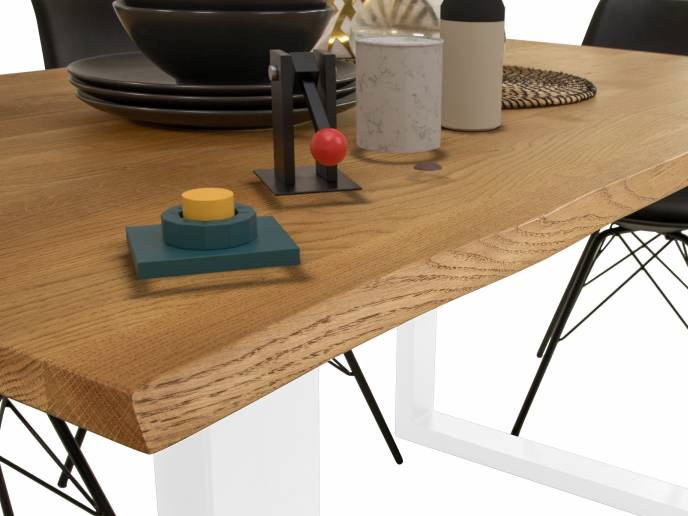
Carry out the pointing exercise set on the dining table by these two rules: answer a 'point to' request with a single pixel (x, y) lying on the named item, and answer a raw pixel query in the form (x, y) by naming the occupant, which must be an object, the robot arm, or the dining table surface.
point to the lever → (317, 111)
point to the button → (208, 204)
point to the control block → (209, 244)
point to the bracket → (284, 172)
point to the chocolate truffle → (427, 166)
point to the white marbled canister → (398, 93)
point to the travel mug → (472, 63)
